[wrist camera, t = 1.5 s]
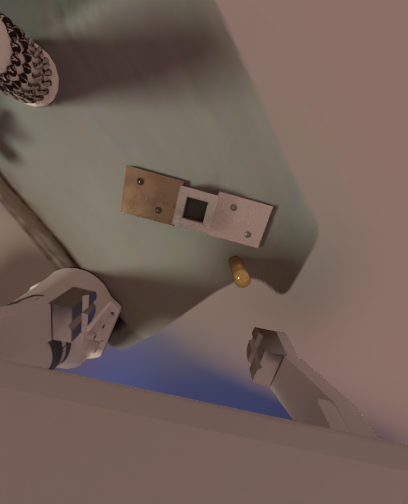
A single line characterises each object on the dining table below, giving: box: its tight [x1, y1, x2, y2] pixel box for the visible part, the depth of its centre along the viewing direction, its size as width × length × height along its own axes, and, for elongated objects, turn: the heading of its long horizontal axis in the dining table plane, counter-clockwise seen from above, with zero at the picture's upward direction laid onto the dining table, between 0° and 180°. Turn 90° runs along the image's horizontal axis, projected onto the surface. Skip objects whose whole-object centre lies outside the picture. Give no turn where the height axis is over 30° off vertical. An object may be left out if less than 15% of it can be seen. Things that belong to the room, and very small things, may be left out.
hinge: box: [121, 165, 273, 248], centre depth 33 cm, size 26×8×4 cm, turn 75°
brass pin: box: [229, 256, 251, 288], centre depth 34 cm, size 2×2×9 cm
